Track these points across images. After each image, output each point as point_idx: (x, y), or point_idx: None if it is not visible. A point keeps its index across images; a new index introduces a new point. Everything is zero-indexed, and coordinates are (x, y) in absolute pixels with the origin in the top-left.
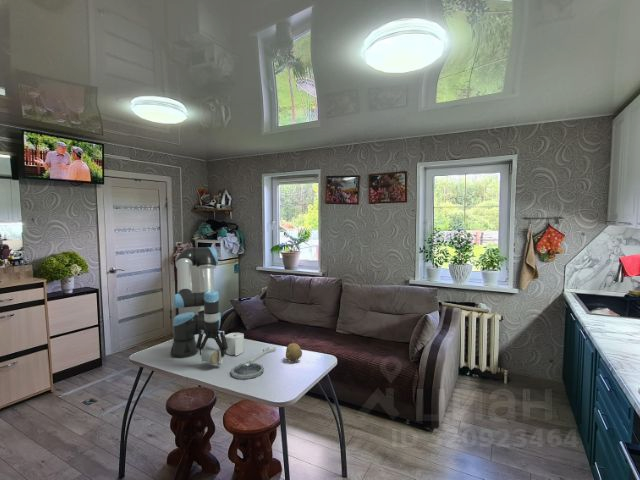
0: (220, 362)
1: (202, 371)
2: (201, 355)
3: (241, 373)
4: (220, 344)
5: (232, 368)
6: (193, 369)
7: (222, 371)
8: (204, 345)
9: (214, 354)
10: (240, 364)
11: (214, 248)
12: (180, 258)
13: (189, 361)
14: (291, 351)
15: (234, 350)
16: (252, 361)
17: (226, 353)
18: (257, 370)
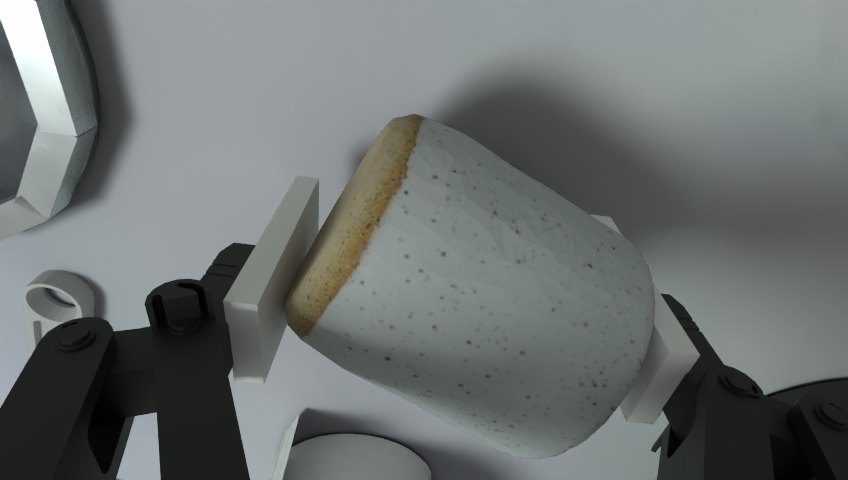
0: (294, 184)
1: (540, 47)
2: (643, 260)
3: None
4: (163, 475)
5: (47, 51)
6: (683, 113)
7: (243, 55)
8: (658, 478)
9: (342, 217)
10: (37, 195)
11: None
12: None
13: (747, 318)
14: None
15: (319, 474)
16: (29, 312)
17: (411, 451)
18: None
